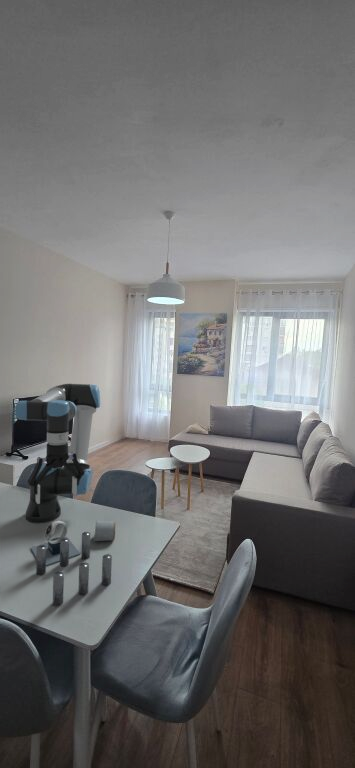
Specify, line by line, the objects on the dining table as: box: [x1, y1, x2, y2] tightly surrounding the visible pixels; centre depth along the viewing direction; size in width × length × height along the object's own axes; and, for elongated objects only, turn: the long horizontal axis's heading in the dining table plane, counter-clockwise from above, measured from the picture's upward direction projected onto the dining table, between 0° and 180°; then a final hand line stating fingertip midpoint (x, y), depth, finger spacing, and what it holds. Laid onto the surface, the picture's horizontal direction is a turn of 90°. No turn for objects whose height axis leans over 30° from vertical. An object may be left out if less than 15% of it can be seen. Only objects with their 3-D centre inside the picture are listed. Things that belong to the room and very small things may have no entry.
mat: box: [30, 536, 81, 567], centre depth 127 cm, size 14×14×1 cm
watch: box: [44, 520, 68, 555], centre depth 127 cm, size 6×8×11 cm
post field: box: [35, 531, 113, 607], centre depth 113 cm, size 20×19×9 cm
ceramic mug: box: [94, 520, 117, 542], centre depth 139 cm, size 11×8×8 cm
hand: (56, 498), depth 126 cm, fingers open, 13 cm apart
